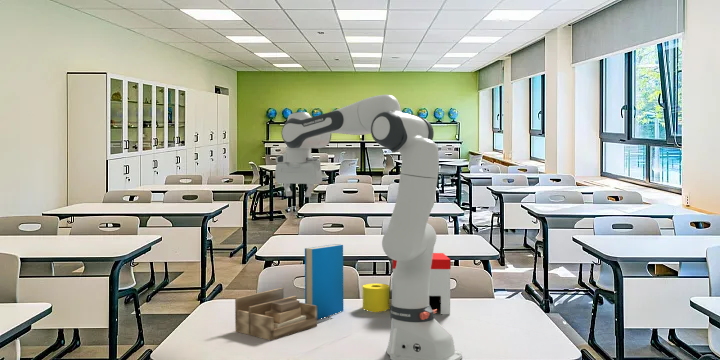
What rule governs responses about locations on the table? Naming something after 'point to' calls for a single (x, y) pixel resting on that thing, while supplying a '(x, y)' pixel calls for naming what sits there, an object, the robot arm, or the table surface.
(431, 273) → the red-lidded white box
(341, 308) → the book
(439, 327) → the robot arm
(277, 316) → the offcut medium
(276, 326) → the offcut large
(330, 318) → the mat
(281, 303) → the offcut small
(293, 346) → the table surface
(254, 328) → the rack
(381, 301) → the tape roll
